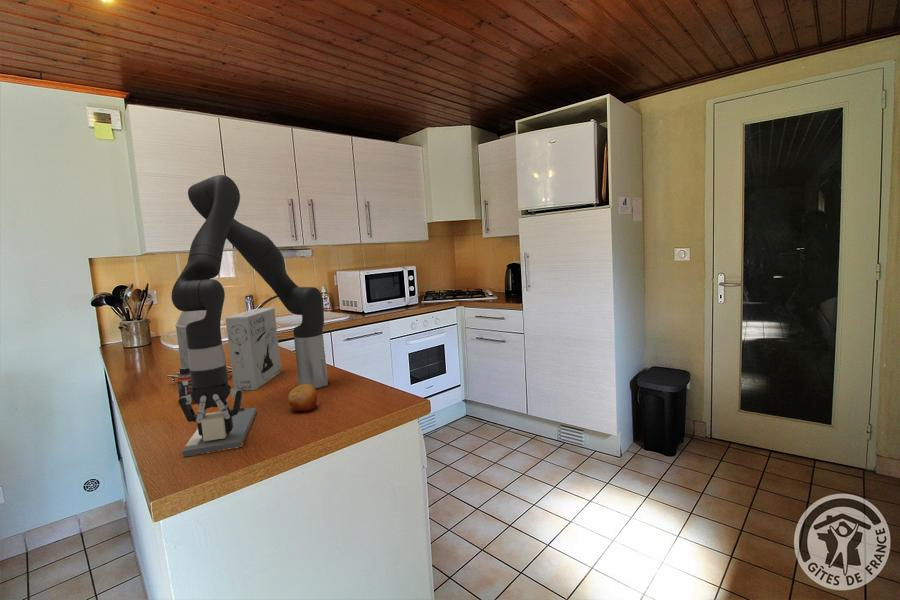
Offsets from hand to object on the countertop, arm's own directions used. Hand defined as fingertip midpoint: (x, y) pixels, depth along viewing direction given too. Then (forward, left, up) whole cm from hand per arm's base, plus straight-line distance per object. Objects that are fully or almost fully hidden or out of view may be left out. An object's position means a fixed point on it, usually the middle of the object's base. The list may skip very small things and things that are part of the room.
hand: (216, 434), depth 105 cm
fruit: (-19, -16, -3) cm, 25 cm away
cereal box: (-2, -54, -3) cm, 54 cm away
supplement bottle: (+16, -39, -3) cm, 42 cm away
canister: (+18, -62, -3) cm, 65 cm away
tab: (0, 0, 0) cm, 0 cm away
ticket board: (0, -7, -2) cm, 7 cm away
